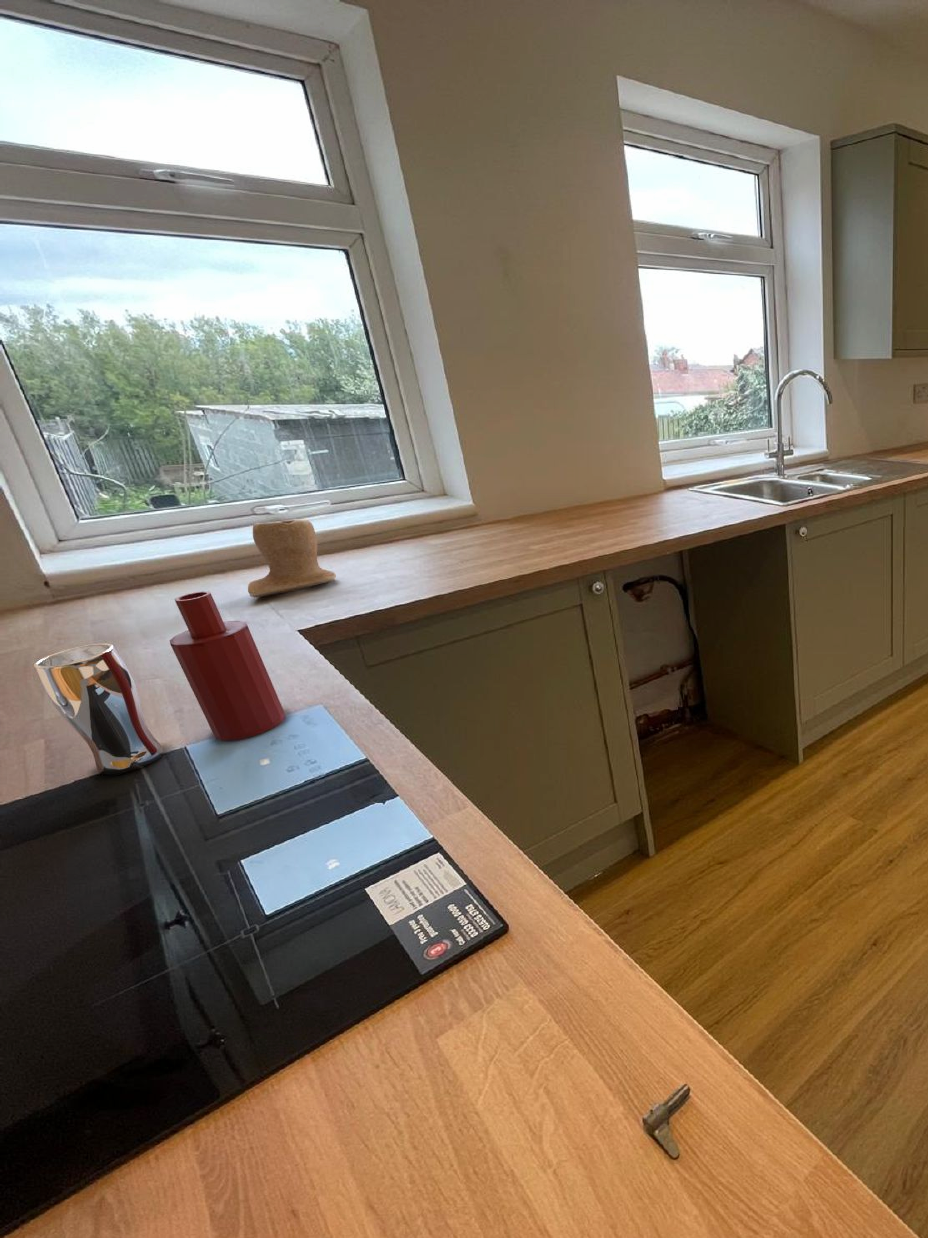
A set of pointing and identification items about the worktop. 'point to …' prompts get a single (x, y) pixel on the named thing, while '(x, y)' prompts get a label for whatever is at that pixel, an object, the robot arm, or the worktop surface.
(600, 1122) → the worktop surface
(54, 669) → the beer glass
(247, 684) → the sauce bottle
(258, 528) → the brown top hat
